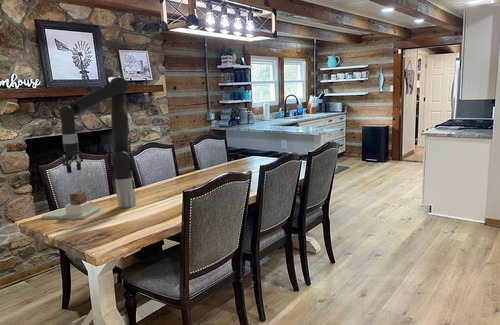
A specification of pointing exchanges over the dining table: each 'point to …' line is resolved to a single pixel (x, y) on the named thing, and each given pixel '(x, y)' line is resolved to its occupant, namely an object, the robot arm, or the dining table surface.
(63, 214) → the serving board
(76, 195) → the walnut cube
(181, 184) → the dining table surface
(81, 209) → the block
